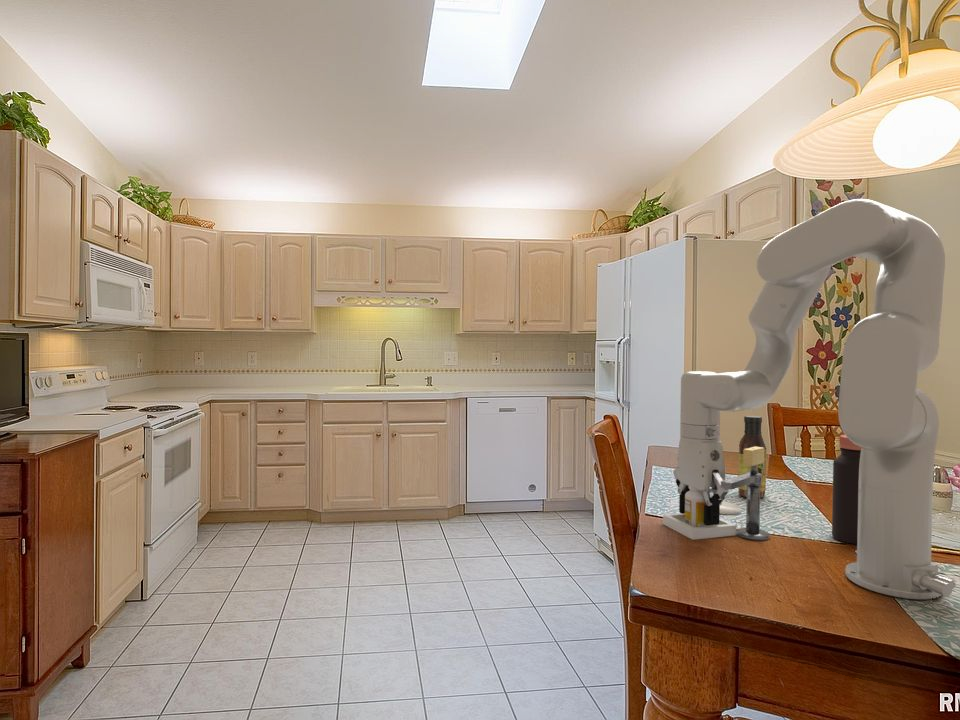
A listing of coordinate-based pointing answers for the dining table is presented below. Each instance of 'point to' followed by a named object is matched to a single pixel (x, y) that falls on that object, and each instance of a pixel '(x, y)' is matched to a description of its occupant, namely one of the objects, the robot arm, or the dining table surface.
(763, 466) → the sauce bottle
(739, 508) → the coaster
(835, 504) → the vinegar
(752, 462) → the lever handle
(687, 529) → the dock
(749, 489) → the post
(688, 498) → the supplement bottle
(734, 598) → the dining table surface
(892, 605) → the dining table surface
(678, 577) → the dining table surface
